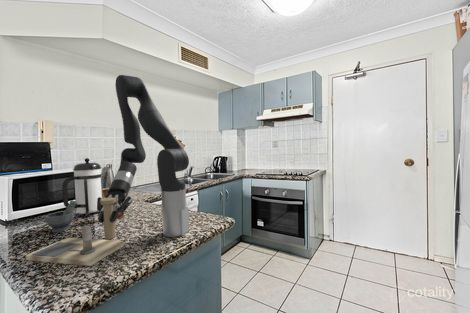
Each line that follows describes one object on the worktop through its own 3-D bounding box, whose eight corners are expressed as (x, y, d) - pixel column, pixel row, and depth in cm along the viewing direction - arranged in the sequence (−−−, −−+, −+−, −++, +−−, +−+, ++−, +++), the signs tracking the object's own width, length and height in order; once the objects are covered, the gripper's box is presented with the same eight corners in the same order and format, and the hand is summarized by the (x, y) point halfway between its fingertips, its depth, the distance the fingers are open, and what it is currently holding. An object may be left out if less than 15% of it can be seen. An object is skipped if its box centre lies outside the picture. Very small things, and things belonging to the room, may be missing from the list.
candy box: (103, 221, 106) (101, 189, 106) (103, 219, 110) (101, 188, 109) (124, 217, 111) (122, 187, 111) (123, 215, 115) (121, 186, 114)
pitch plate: (124, 245, 79) (122, 218, 78) (91, 265, 65) (89, 233, 65) (67, 241, 84) (66, 216, 83) (26, 260, 70) (23, 230, 70)
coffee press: (77, 211, 125) (73, 158, 124) (109, 208, 130) (106, 157, 129) (63, 221, 109) (59, 159, 108) (100, 217, 114) (97, 158, 113)
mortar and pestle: (46, 235, 90) (44, 206, 90) (46, 229, 97) (44, 202, 97) (80, 228, 97) (78, 201, 97) (77, 223, 105) (76, 198, 104)
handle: (114, 233, 90) (112, 196, 89) (119, 238, 85) (117, 199, 84) (100, 237, 86) (98, 199, 86) (105, 242, 82) (103, 201, 81)
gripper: (101, 179, 92) (81, 217, 81) (134, 178, 92) (120, 216, 80) (109, 189, 98) (92, 226, 86) (141, 188, 97) (128, 225, 86)
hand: (106, 221), depth 83 cm, fingers closed on handle, 3 cm apart
